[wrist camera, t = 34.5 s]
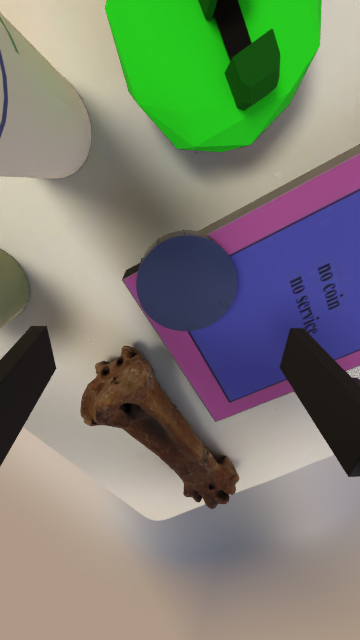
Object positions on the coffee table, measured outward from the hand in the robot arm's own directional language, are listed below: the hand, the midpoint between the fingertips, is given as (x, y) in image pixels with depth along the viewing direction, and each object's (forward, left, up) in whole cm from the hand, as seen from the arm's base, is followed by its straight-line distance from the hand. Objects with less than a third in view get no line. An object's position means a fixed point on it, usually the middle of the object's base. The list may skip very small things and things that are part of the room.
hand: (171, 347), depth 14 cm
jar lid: (+1, 0, -9) cm, 9 cm away
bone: (+1, -21, -14) cm, 26 cm away
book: (+14, -1, -14) cm, 20 cm away
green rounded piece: (+2, +16, -14) cm, 21 cm away
